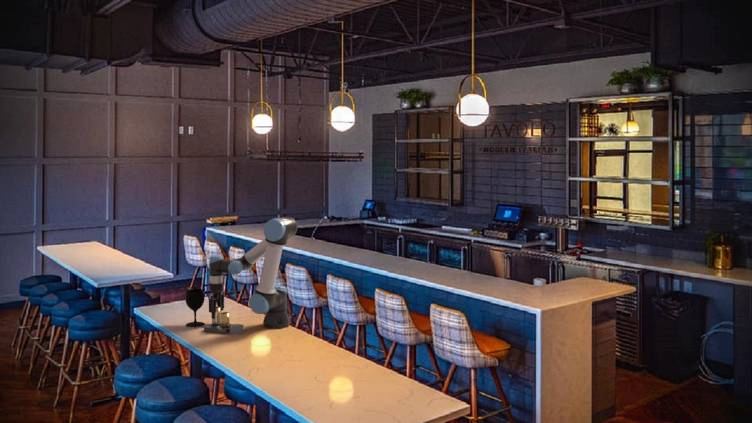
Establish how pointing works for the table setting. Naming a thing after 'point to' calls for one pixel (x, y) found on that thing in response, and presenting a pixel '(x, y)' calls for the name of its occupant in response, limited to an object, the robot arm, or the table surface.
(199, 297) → the wine glass
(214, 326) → the grey flat frame
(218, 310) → the loose billet
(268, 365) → the table surface
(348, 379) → the table surface
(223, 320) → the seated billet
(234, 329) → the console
